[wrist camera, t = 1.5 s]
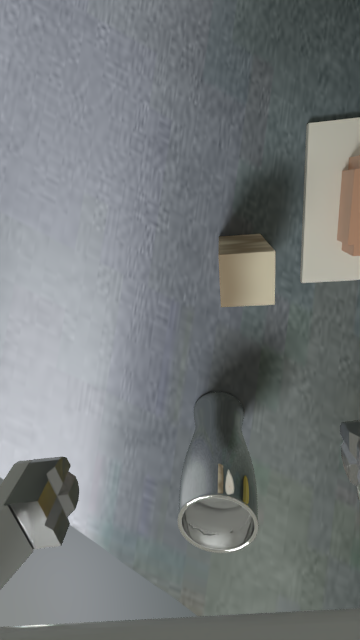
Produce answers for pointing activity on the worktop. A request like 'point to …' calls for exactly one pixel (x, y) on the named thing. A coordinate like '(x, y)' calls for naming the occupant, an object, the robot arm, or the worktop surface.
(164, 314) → the worktop surface
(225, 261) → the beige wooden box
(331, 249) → the framed base plate
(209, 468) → the beer glass
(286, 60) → the worktop surface
